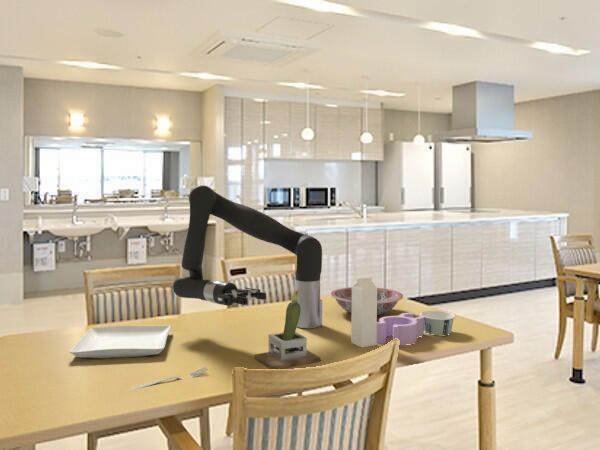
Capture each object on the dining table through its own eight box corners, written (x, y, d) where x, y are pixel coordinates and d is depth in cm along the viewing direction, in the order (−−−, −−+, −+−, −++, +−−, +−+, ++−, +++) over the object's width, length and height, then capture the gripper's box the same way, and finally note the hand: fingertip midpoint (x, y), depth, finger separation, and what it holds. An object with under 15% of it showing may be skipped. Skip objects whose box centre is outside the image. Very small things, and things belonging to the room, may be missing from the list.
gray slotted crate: (292, 349, 162) (292, 330, 161) (306, 357, 155) (306, 338, 154) (268, 354, 158) (268, 334, 157) (281, 362, 150) (281, 342, 150)
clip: (401, 329, 189) (401, 310, 188) (432, 336, 181) (433, 316, 180) (369, 341, 174) (369, 321, 174) (401, 350, 166) (402, 328, 165)
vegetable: (278, 353, 158) (289, 288, 161) (292, 356, 158) (302, 290, 162) (279, 355, 154) (290, 287, 157) (294, 357, 154) (304, 290, 157)
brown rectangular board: (300, 349, 165) (300, 346, 165) (320, 360, 155) (320, 357, 155) (254, 357, 157) (254, 354, 157) (272, 370, 147) (272, 366, 147)
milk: (376, 345, 170) (378, 278, 168) (361, 348, 167) (362, 280, 165) (365, 340, 175) (366, 275, 174) (350, 342, 172) (351, 277, 171)
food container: (462, 334, 183) (462, 316, 182) (437, 339, 177) (438, 320, 176) (436, 326, 193) (437, 308, 192) (412, 330, 187) (413, 313, 186)
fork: (116, 391, 133) (115, 384, 133) (204, 372, 146) (204, 366, 146) (119, 395, 130) (119, 388, 130) (209, 375, 144) (209, 369, 144)
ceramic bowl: (315, 314, 210) (315, 294, 209) (356, 301, 232) (357, 284, 231) (377, 327, 191) (378, 306, 190) (415, 312, 213) (416, 293, 212)
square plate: (164, 360, 156) (164, 347, 156) (68, 364, 152) (67, 351, 152) (172, 333, 183) (172, 323, 183) (90, 336, 179) (90, 325, 179)
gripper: (203, 285, 167) (240, 291, 157) (235, 278, 178) (271, 283, 168) (204, 308, 168) (240, 315, 158) (236, 299, 179) (271, 306, 169)
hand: (256, 299), depth 163 cm, fingers open, 8 cm apart
